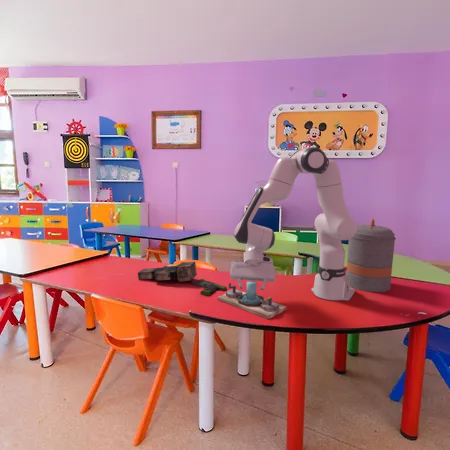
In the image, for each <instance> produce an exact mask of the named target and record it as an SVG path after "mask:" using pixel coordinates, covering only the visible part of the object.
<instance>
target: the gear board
mask: <svg viewBox="0 0 450 450" xmlns="http://www.w3.org/2000/svg"><path fill="white" fill-rule="evenodd" d="M226 290H227V291H225V293H224V294H221V295H219V296H217V301H221V303H222V302H223V303H225V304H227V305H231V306H233V307H236V308H239V309H240V310H243V311H246V312H248V313H251V314H254V315H256V316H259V317H262V318H264V319H267V320H269V319H272V318H274V317H275V316H277V315H279V314H281V313H283V312H285V311H287V306H286V305H284V304H280V303H278V302H276V301H272V300H273V298H272V297H271V296H269V297H267V298H265V297H264V296H263V295H259V294H256V296H258V297H259V298H261V302H259V303H245V302H243V301H242V298H243V296H244V295H245V296H246V291H242V290H240V289H237V286H236V285H232V282H228V289H226Z"/></svg>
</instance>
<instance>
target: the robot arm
mask: <svg viewBox="0 0 450 450" xmlns="http://www.w3.org/2000/svg"><path fill="white" fill-rule="evenodd" d="M299 174H312V175H313V177H314V180H315V187H316V188H315V189H316V192H317V193H316V196H317V201H318V205H319V207H320V208H321V210H322V212H323V213H319V214H318V215H317V216H316V217H315V220H314V224H313V225H314V227H315V230H316V233H317V236H318V243H319V264H318V267H317V273H316V274H315V277H314V282H313V283H314V284H313V287H311V289H310V291H311V292H312V293H313V294H314V295H315V296H316V297H318V298H320V299H323V300H326V301H350V300H351V298H352V297H353V295H354V294H355V292H356V290H355V288H352V287H350V279H349V278H348V277H347V276H346V270H347V265H345V257H346V251H345V248H344V246H343V243H342V241H349V239H351V238H353V237H354V236H355V234H356V231H357V226H358V225H357V224H356V222H355V220H353V218H352V216H351V215H350V212H349V209H348V207H347V204H346V202H345V197H344V191H343V183H342V181H343V180H342V177H341V176H342V175H341V172H340V169H339V165H338V163H337V162H336V161H335V160H333V159H329V158H328V157H327V155H326V154H325V152H324V151H323V150H322V149H321V148H319V147H315V146H312V147H304V148H302V149H299V150H296V151H295V152H294V153H292V155H291V156H290V157H288V156H283V157H280V158H278V159H277V161H276V163H275V164H274V167H273V168H272V170H271V172H270V175H269V178H268V180H267V181H266V184H265V185H264V186H263V187H260V188H258V189H257V191H256V192H255V194H254V195H253V197H252V198H251V201H250V202H249V204H248V205H247V207H246V209H245V211H244V213H243V214H242V217H241V218H240V221H239V222H238V223H237V225H236V227H235V228H234V232H233V236H234V238H235V240H236V242H237V243H239V244H244V245H245V252H244V258H243V260H240V259H239V260H236V259H234V260H233V261H231V262H230V272H229V277H230V279H231V280H235V281H237V283H238V290H240V289H243V287H244V285H243V283H241V281H255V282H263V284H260V291H265V287H266V285H267V284H268V282H270V283H274V282H275V281H276V269H275V265H274V261H273V260H274V259H273V258H271V257H269V256H266V255H264V252H266V251H269V250H270V249H271V248H272V247H273V246H274V244H275V240H276V235H275V232H274V230H273V229H271V228H270V227H266V226H264V225H263V226H262V225H258V224H256V223H252V221H253V219H254V217H255V215H256V214H257V212H258V210H259V208H260V207H261V206H262V205H264V204H267V203H268V204H269V203H279V202H282V201H284V200H287V198H288V197H290V195H291V192H292V190H293V187H294V184H295V182H296V179H297V177H298V175H299Z"/></svg>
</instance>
